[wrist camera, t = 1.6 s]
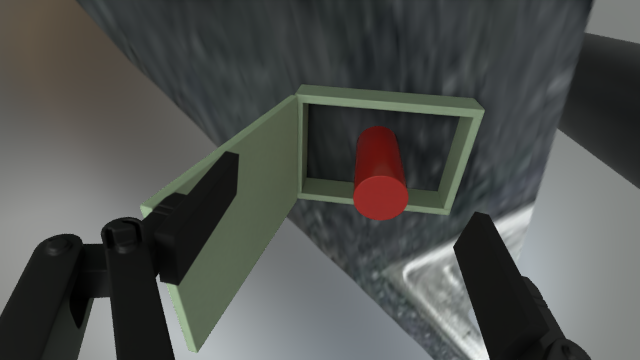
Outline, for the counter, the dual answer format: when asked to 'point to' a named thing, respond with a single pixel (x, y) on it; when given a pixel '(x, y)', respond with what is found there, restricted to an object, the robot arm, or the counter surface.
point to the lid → (237, 218)
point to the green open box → (393, 101)
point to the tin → (379, 175)
